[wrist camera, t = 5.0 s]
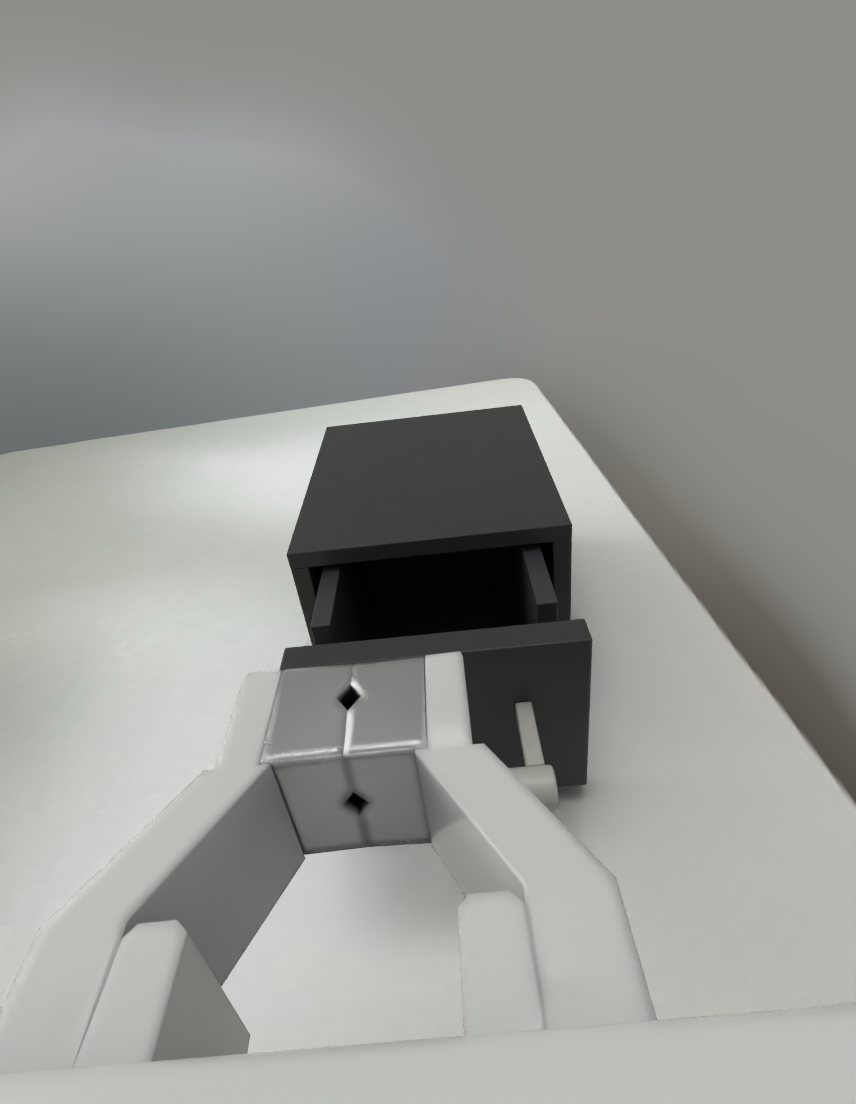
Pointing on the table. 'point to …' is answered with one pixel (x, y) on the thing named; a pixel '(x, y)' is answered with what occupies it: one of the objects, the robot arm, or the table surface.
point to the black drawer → (472, 648)
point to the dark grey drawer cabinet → (429, 496)
